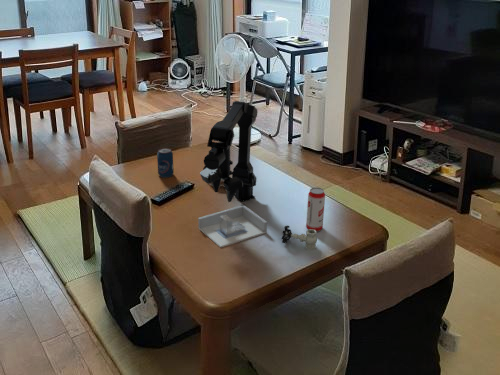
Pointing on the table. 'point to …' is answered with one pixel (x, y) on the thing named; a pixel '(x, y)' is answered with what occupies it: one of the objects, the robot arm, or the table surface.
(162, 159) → the soda can
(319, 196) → the beer can
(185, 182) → the table surface
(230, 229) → the bracket
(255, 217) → the tray
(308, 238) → the valve
